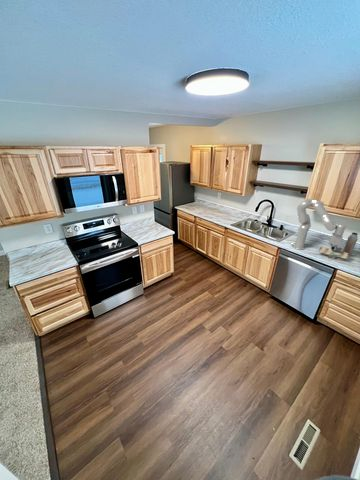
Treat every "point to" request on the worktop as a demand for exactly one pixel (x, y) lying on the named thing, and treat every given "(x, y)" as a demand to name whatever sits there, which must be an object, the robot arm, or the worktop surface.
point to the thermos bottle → (350, 244)
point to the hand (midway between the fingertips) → (332, 249)
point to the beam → (333, 253)
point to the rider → (338, 249)
